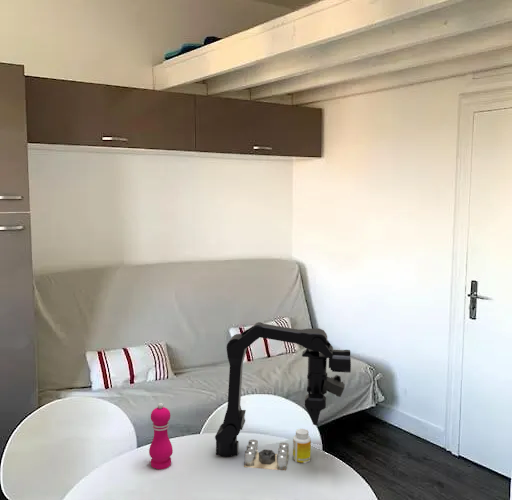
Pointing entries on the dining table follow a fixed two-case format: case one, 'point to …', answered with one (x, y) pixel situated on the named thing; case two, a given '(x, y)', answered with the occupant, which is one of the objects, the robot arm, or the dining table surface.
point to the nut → (266, 457)
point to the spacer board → (264, 466)
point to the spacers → (253, 451)
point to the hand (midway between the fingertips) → (315, 418)
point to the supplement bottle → (301, 446)
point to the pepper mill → (160, 438)
